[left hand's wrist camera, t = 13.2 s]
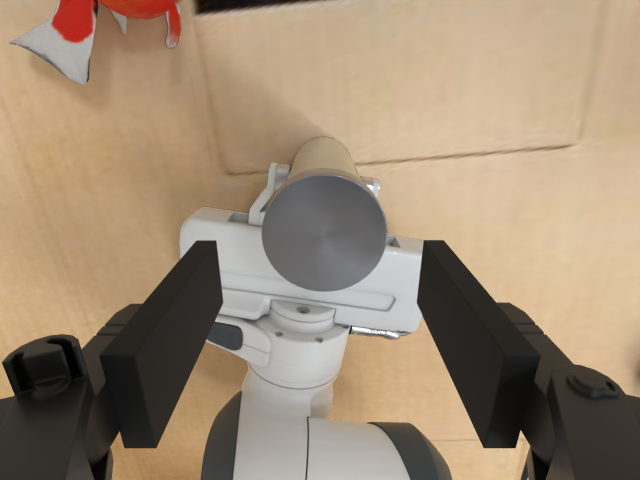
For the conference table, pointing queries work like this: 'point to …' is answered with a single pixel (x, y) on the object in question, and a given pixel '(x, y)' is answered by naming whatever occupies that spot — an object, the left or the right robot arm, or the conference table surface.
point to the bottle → (323, 157)
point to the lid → (324, 230)
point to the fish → (90, 31)
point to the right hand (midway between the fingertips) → (324, 171)
